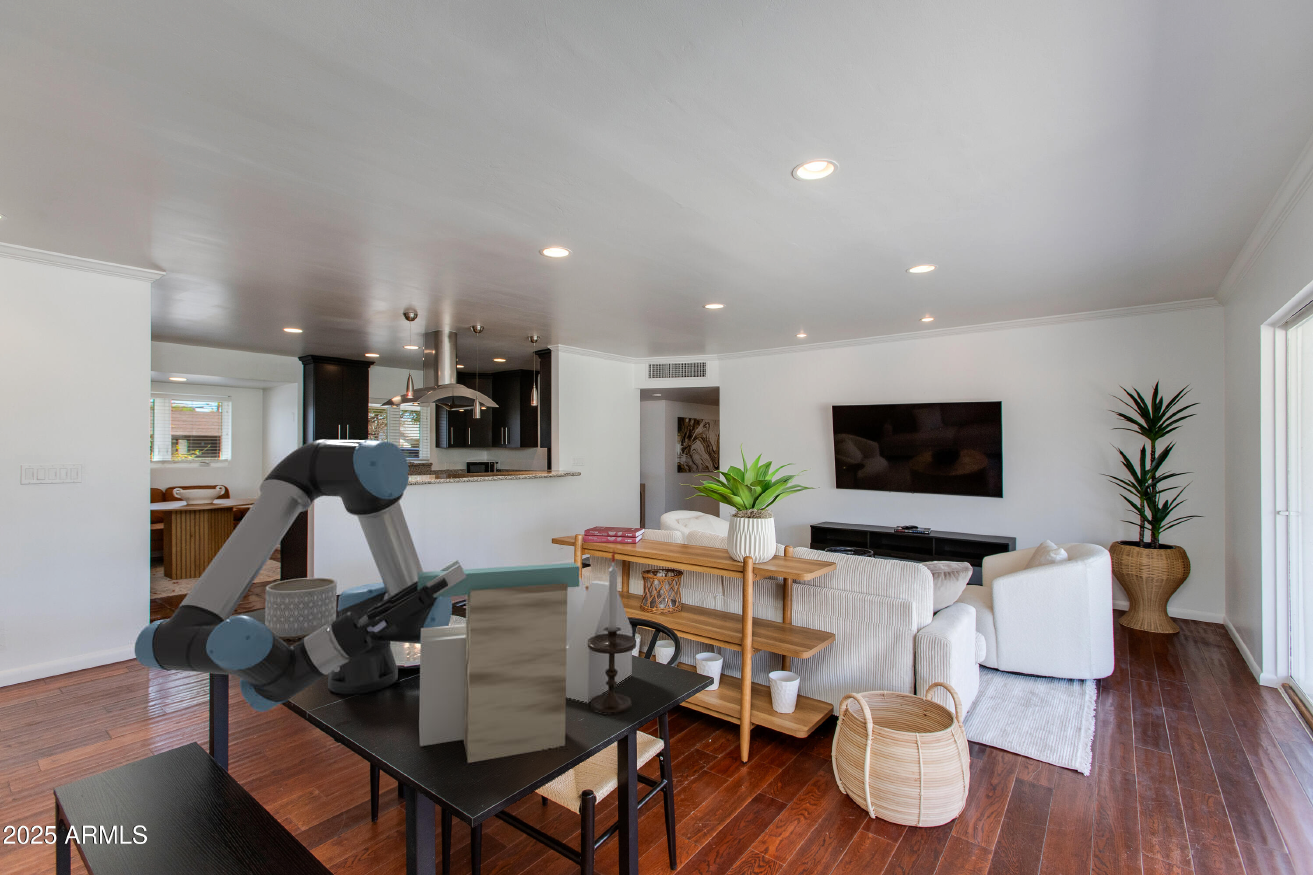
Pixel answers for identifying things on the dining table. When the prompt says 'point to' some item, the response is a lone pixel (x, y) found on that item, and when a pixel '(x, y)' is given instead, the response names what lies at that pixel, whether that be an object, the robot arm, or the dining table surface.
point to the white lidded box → (442, 684)
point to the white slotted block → (582, 624)
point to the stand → (515, 670)
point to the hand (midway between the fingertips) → (461, 567)
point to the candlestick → (611, 652)
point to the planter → (300, 606)
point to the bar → (506, 577)
